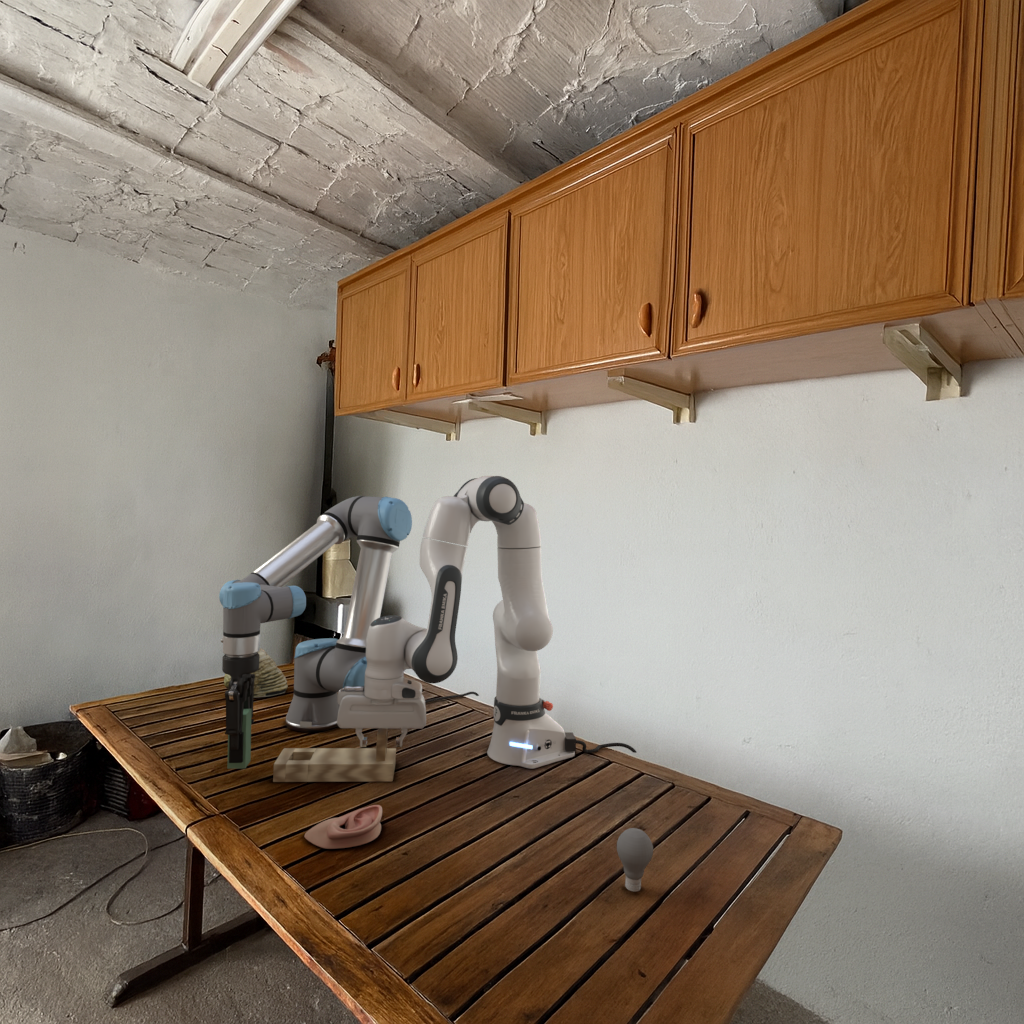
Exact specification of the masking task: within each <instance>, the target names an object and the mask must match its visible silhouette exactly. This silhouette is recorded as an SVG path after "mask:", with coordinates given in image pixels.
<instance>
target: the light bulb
mask: <svg viewBox="0 0 1024 1024" xmlns="http://www.w3.org/2000/svg"><path fill="white" fill-rule="evenodd" d="M616 852H617V856H618V858H619V860H620V862H621V864H622V866H623V872H624V875H625V882H624V887H625V889H627V890H628V891H630V892H633V893H634V892H635V893H636V892H639V891H641V889H642V878H643V876H644V875H645V869H646V868H647V867H648V865H649V864H650V862H651V860H652V858H653V855H654V845H653V842H652V840H651V838H650V836H649V835H648V834H647V832H645V831H644V830H642V829H640V828H636V827H629V828H627V829H625V830H624V831H623V832H622V833H620V835H619V836H618V839H617V841H616Z"/></svg>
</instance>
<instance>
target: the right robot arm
mask: <svg viewBox="0 0 1024 1024" xmlns="http://www.w3.org/2000/svg"><path fill="white" fill-rule="evenodd" d="M478 522H491V523H492V524H493V526H494V528H495V530H496V531H495V532H496V535H497V539H496V540H497V541H496V542H497V543H496V546H497V547H496V548H497V579H498V582H499V587H500V591H501V597H502V600H500V601H498V603H496V605H495V606H494V609H493V611H492V621H493V630H494V646H495V657H496V691H495V697H494V700H493V713H492V714H493V727H492V732H491V737H490V742H489V744H488V745H489V746H488V748H487V751H486V754H487V756H488V757H489V758H490V759H491V760H492V761H494V762H496V763H499V764H504V765H508V766H509V765H510V766H515V767H516V766H518V767H522V768H526V769H530V770H531V769H537V768H540V767H541V768H542V767H544V766H547V765H550V764H554V763H556V762H560V761H563V760H567V759H570V758H573V757H575V756H576V753H575V752H576V751H577V745H581V746H582V752H583V753H585V754H593V753H597V752H599V751H600V749H605V748H613V747H621V748H626V749H628V750H629V751H630V752H632V753H633V754H634V753H635V754H636V753H637V750H636V749H635V748H634V747H632V746H631V745H630V744H627V743H623V742H609V743H603V744H602V743H601V744H598V745H596V747H595V748H591V749H587V744H586V742H584V741H583V740H581V739H577V738H576V736H575V734H574V732H572V731H571V732H567V731H566V732H565V730H564V728H563V727H562V726H561V724H560V723H558V722H557V721H556V720H555V719H554V718H553V717H551V716H550V715H549V714H548V713H546V710H547V711H548V712H551V711H552V710H553V709H554V704H553V703H552V702H550V701H548V700H546V701H545V700H544V699H542V698H541V697H540V696H541V672H542V670H541V664H540V660H539V655H538V651H540V650H543V649H544V648H546V647H547V646H548V645H549V643H550V642H551V640H552V638H553V632H554V627H553V624H552V622H551V621H552V620H551V619H550V614H549V610H548V608H549V607H548V602H547V597H546V592H545V587H544V581H543V568H542V567H543V566H542V565H543V564H542V561H543V560H542V537H541V529H540V522H539V517H538V512H537V510H536V509H535V508H534V506H532V505H530V504H529V503H526V502H524V500H523V498H522V497H521V494H520V491H519V488H518V487H517V486H516V484H515V482H513V481H512V480H511V479H509V478H506V477H504V476H502V475H482V476H479V477H476V478H471V479H468V480H467V481H466V482H464V483H463V484H462V485H461V486H460V488H459V489H458V490H457V491H456V493H454V494H453V495H446V496H441V497H439V498H437V499H436V500H435V501H434V502H433V505H432V507H431V509H430V512H429V514H428V516H427V519H426V523H425V525H424V529H423V533H422V538H421V542H420V547H419V566H420V569H421V571H422V573H423V574H424V577H425V578H426V580H427V582H428V584H429V588H430V592H431V602H430V608H429V613H428V621H427V628H425V627H422V626H418V625H415V624H413V623H411V622H409V621H408V620H406V619H405V618H403V617H402V616H401V615H396V614H394V615H384V616H380V618H377V619H376V620H374V621H373V622H372V623H371V624H370V627H369V630H368V635H367V642H366V659H367V668H366V671H365V682H364V686H356V687H350V686H346V687H344V688H342V689H340V690H339V692H338V693H337V702H338V704H339V705H340V706H339V711H338V717H337V725H338V726H337V727H338V728H339V729H355V735H356V736H357V738H358V740H359V748H368V747H367V746H368V736H364V733H363V729H379V728H388V729H393V730H394V729H401V730H400V732H401V735H400V736H398V737H397V736H396V738H395V748H402V747H403V740H404V739H405V738H406V736H407V734H408V730H410V729H411V730H412V729H414V730H416V729H418V730H419V729H424V727H426V725H427V705H426V703H425V697H424V695H423V685H422V683H421V682H420V681H418V680H414V679H411V678H408V677H406V676H404V673H405V671H406V670H412V671H413V672H414V674H415V675H416V676H417V678H418V679H419V680H421V681H422V682H424V683H427V684H439V683H442V682H444V681H446V680H447V679H448V678H449V677H451V676H452V675H453V673H454V672H455V670H456V668H457V666H458V650H457V645H456V632H457V631H456V630H457V624H458V617H459V609H460V603H461V594H462V583H463V572H464V567H465V562H466V557H467V552H468V546H469V542H470V535H471V533H472V531H473V529H474V527H475V525H476V524H477V523H478ZM342 690H344V691H342Z"/></svg>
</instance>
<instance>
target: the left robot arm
mask: <svg viewBox="0 0 1024 1024" xmlns="http://www.w3.org/2000/svg"><path fill="white" fill-rule="evenodd" d="M412 527H413V517H412V513H411V510H410V509H409V507H408V505H407V503H406V502H404V501H403V500H402V499H400V498H397V497H392V496H366V495H357V496H352V497H348V498H346V499H345V500H342V501H340V502H338V503H337V504H335V505H334V506H331V507H330V508H329V509H328V510H326V511H324V513H322V514H320V515H319V516H318V517H317V519H316V523H315V524H314V525H312V526H311V527H310V528H308V529H307V530H306V531H305V532H303V533H302V534H300V535H299V536H297V537H296V538H295V539H294V540H292V541H291V542H289V543H288V545H286V546H285V547H283V548H282V549H281V550H280V551H279V550H278V552H277V553H276V554H274V555H272V556H271V557H270V558H269V559H267V560H266V561H265V562H263V563H262V564H261V565H260V566H258V567H257V568H256V569H254V570H253V571H252V572H251V573H249V574H248V575H247V576H245V577H244V578H242V579H232V580H228V581H227V582H225V583H224V584H223V585H222V586H221V588H220V591H219V595H218V599H219V602H220V604H221V606H222V638H220V643H222V653H223V655H222V663H221V664H222V666H221V667H222V669H221V670H222V672H223V673H224V675H225V674H229V675H230V676H231V681H229V687H228V688H229V691H228V690H225V691H224V699H225V731H224V734H225V735H227V736H228V735H230V736H229V763H242V762H243V732H242V722H243V709H252V711H251V724H254V722H255V719H254V718H253V717H254V698H253V697H254V680H255V674H251V673H254V672H256V671H257V670H258V669H259V654H258V651H259V650H260V648H261V624H265V623H271V622H275V621H276V622H277V621H281V620H282V621H283V620H290V619H292V618H295V617H299V616H301V615H302V614H303V613H304V611H305V610H306V607H307V596H306V594H305V592H304V590H303V588H301V587H300V586H298V585H286V584H287V583H289V582H290V581H291V580H292V579H293V578H295V577H296V576H297V575H298V574H300V573H301V572H302V571H303V570H304V569H306V568H307V567H308V566H309V565H311V564H312V563H313V562H315V561H316V560H317V559H318V558H319V557H321V556H322V555H323V554H324V553H326V552H327V551H328V550H329V549H330V548H332V547H333V546H334V545H341V544H342V543H344V541H346V540H348V539H350V538H354V537H355V538H356V543H357V544H358V546H359V548H360V552H359V555H358V560H357V561H358V562H357V565H356V566H357V567H356V571H355V576H354V581H353V585H352V586H353V587H352V592H351V596H350V600H349V601H350V602H349V606H348V612H347V617H346V622H345V626H344V631H343V635H342V636H341V637H340V638H339V639H338V638H335V637H333V638H332V637H329V638H315V639H308V640H304V641H302V642H299V643H298V644H297V645H296V646H295V652H294V653H295V654H294V656H293V659H294V661H293V662H294V663H293V665H294V667H293V695H292V696H293V697H292V699H291V702H290V704H289V708H288V711H287V713H286V715H285V726H286V728H287V729H289V730H291V731H294V732H295V731H296V732H301V733H316V732H325V731H329V730H332V729H335V728H337V727H339V726H338V725H337V717H338V711H339V706H340V705H339V704H338V702H337V694H338V692H339V690H340V689H342V688H344V687H346V686H350V687H356V686H364V682H365V671H366V668H367V659H366V642H367V635H368V630H369V627H370V624H371V623H372V622H373V621H374V620H376V619H377V618H380V617H381V613H382V609H383V605H384V599H385V593H386V588H387V582H388V577H389V571H390V567H391V562H392V556H393V553H394V552H396V551H398V550H399V548H400V543H401V542H402V541H404V540H406V539H407V538H408V536H409V535H410V533H411V531H412ZM342 691H344V690H342ZM469 695H475V696H476V697H479V696H480V695H479V693H478V692H476V691H468V692H465V693H461V694H453V695H446V696H440V697H434V698H430V699H426V700H425V704H427V703H433V702H437V701H442V700H443V701H444V700H447V699H455V698H462V697H466V696H469Z"/></svg>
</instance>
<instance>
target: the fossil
mask: <svg viewBox="0 0 1024 1024" xmlns="http://www.w3.org/2000/svg"><path fill="white" fill-rule="evenodd" d="M258 654H259V669H258V670H257V671H256V672H254V673H251V674H255V680H254V697H253V699H255V698H258V699H259V698H266V697H273V696H274V697H275V696H277V695H282V694H285V693H286V691H287V690H288V687H289V685H288V680H287V678H286V676H285V674H284V673H283V671H282V669H280V668H279V667H278V666H277V663H276V661H274V659H273V658H272V657H271V656H270V655H269V654H268V653H267V651H265V649H263V648H261V647H260V650H259V651H258ZM223 678H224V679H223V686H224V687H225V688H226V689H227V691H229V688H228V687H229V681H231V676H230V675H229V674H225V673H224V677H223Z"/></svg>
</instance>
